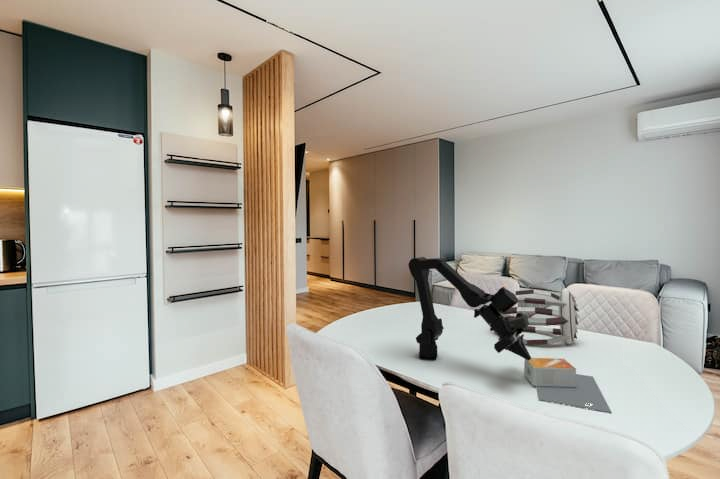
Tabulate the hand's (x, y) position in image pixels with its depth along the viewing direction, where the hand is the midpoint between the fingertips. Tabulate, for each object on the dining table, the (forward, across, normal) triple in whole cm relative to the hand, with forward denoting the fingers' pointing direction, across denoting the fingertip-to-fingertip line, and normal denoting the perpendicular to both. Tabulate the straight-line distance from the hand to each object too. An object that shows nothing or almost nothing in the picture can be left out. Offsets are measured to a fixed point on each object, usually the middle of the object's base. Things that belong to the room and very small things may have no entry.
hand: (530, 359), depth 113 cm
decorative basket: (-1, +49, +13) cm, 50 cm away
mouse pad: (+13, +4, -1) cm, 14 cm away
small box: (+3, +2, +4) cm, 5 cm away
